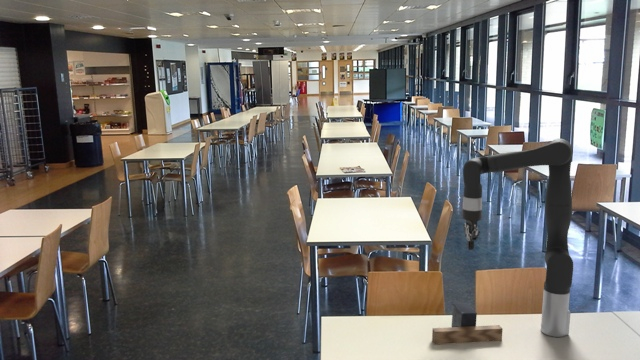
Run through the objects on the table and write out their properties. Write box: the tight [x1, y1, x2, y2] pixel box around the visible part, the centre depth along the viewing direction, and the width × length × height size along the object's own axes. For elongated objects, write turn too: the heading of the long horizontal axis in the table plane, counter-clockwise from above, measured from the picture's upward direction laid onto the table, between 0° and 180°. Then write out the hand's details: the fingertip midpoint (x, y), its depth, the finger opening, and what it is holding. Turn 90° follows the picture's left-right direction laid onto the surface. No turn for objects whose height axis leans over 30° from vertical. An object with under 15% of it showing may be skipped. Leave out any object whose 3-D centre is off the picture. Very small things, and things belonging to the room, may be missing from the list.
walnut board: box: [431, 324, 503, 345], centre depth 206 cm, size 26×3×5 cm, turn 95°
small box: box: [451, 301, 478, 327], centre depth 213 cm, size 11×6×10 cm, turn 5°
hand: (470, 249), depth 223 cm, fingers closed
